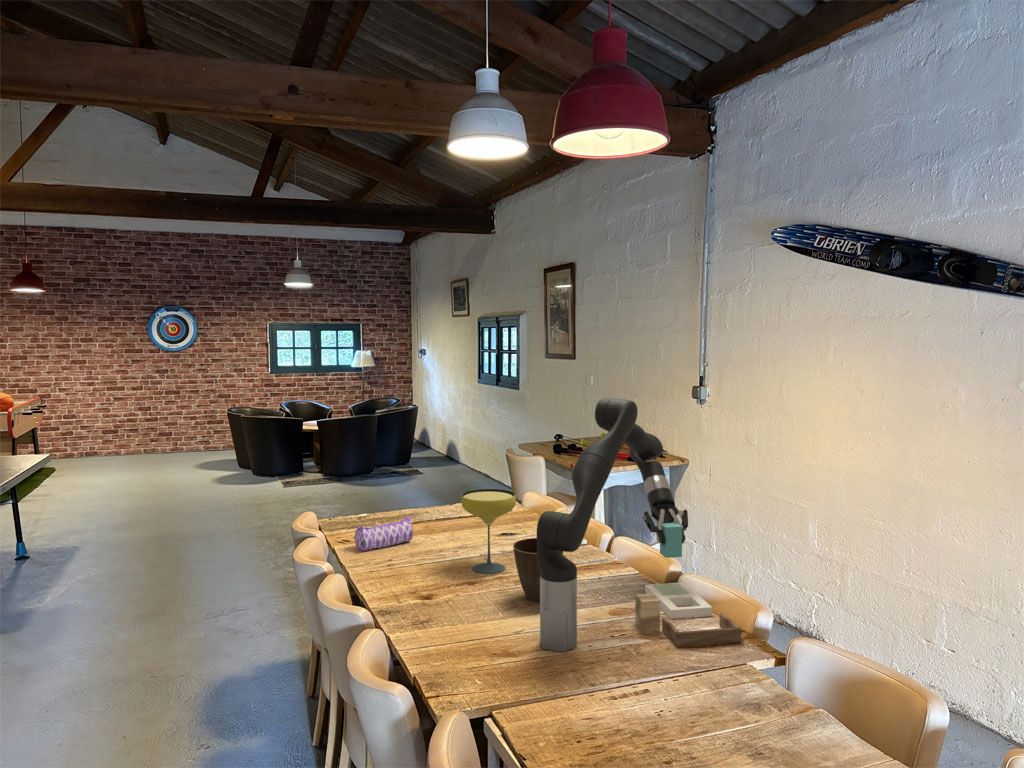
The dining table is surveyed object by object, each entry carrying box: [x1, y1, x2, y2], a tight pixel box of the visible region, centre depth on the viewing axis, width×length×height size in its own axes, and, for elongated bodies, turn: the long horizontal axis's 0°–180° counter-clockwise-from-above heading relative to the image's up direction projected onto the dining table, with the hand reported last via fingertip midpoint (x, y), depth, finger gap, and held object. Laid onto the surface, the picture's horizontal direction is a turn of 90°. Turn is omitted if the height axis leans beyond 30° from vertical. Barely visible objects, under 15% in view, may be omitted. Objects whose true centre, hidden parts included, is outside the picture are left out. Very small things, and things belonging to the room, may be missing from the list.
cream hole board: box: [644, 582, 713, 620], centre depth 201 cm, size 20×12×3 cm, turn 9°
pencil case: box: [354, 516, 414, 552], centre depth 260 cm, size 22×9×10 cm, turn 128°
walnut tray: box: [661, 613, 742, 648], centre depth 179 cm, size 10×17×4 cm, turn 99°
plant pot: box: [512, 537, 564, 604], centre depth 206 cm, size 15×15×16 cm
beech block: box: [634, 593, 661, 632], centre depth 185 cm, size 5×5×8 cm
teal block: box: [659, 523, 683, 559], centre depth 205 cm, size 4×5×9 cm
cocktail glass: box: [460, 488, 517, 575], centre depth 232 cm, size 18×18×25 cm
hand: (673, 542), depth 203 cm, fingers closed on teal block, 5 cm apart
